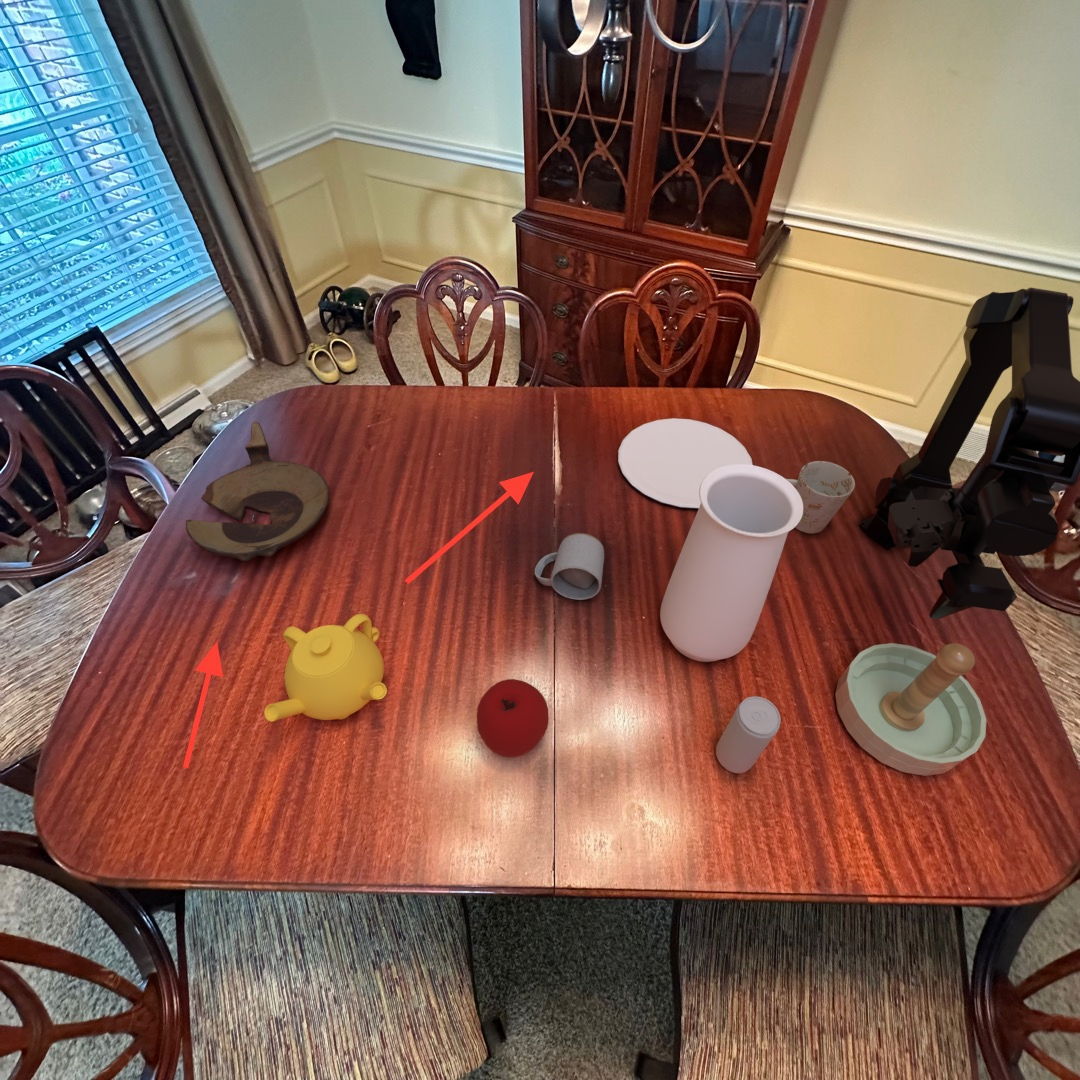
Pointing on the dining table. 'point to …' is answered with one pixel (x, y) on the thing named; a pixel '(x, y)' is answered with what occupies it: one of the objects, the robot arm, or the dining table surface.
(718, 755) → the beverage can
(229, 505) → the oil lamp
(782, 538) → the vase
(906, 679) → the bowl
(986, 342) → the robot arm
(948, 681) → the wooden pestle
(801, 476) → the mug
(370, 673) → the teapot
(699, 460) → the plate
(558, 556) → the ceramic mug
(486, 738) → the apple
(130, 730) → the dining table surface
